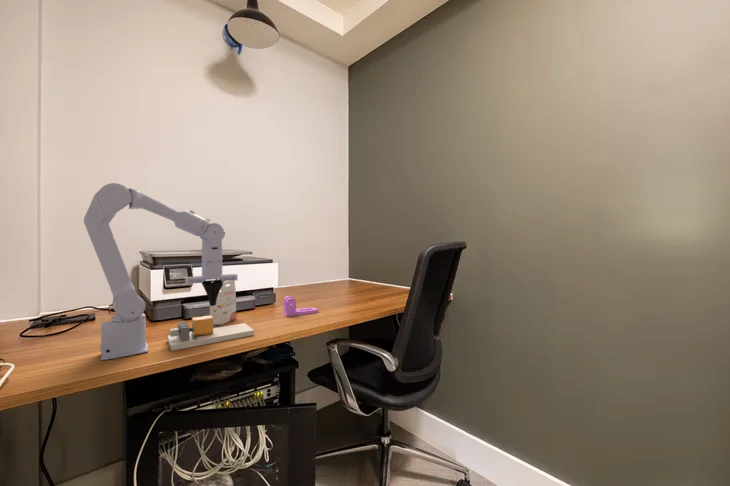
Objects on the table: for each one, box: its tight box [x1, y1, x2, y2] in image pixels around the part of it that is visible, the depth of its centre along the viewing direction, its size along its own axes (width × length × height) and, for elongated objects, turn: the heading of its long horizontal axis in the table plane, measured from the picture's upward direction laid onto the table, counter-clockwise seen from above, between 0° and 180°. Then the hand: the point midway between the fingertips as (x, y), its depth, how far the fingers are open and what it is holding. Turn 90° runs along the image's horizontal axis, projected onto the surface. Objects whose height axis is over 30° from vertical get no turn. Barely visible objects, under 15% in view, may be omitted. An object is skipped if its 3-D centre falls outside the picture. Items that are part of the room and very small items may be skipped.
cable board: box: [167, 320, 255, 352], centre depth 94 cm, size 22×10×5 cm, turn 127°
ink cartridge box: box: [209, 280, 237, 325], centre depth 112 cm, size 9×5×15 cm, turn 168°
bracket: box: [283, 295, 319, 317], centre depth 124 cm, size 13×6×7 cm, turn 114°
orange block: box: [191, 314, 213, 337], centre depth 92 cm, size 5×4×5 cm
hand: (212, 305), depth 97 cm, fingers closed
